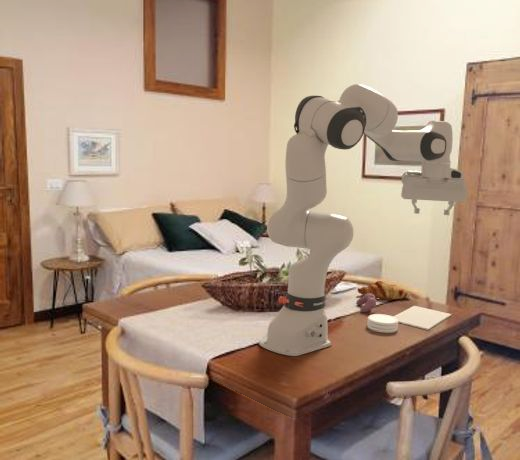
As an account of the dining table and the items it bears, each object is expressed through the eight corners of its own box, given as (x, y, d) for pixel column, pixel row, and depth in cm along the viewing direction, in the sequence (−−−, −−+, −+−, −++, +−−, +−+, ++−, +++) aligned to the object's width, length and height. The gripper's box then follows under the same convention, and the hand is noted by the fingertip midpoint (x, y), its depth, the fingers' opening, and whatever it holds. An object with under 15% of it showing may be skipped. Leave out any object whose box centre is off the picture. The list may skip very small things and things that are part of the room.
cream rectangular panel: (428, 330, 169) (428, 328, 169) (388, 320, 178) (388, 318, 178) (451, 315, 186) (451, 314, 186) (414, 307, 195) (414, 305, 195)
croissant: (407, 305, 209) (407, 286, 212) (414, 300, 200) (413, 280, 203) (355, 301, 210) (355, 282, 213) (359, 296, 201) (359, 276, 204)
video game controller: (370, 317, 185) (380, 300, 184) (359, 311, 185) (369, 294, 184) (365, 309, 195) (374, 293, 194) (354, 303, 195) (364, 287, 194)
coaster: (398, 325, 173) (399, 315, 172) (397, 335, 164) (397, 324, 163) (368, 321, 176) (369, 311, 175) (365, 331, 167) (366, 320, 166)
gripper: (403, 170, 165) (400, 213, 168) (469, 173, 162) (465, 217, 164) (401, 170, 172) (398, 211, 174) (465, 173, 168) (461, 215, 171)
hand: (431, 214), depth 169 cm, fingers open, 8 cm apart
